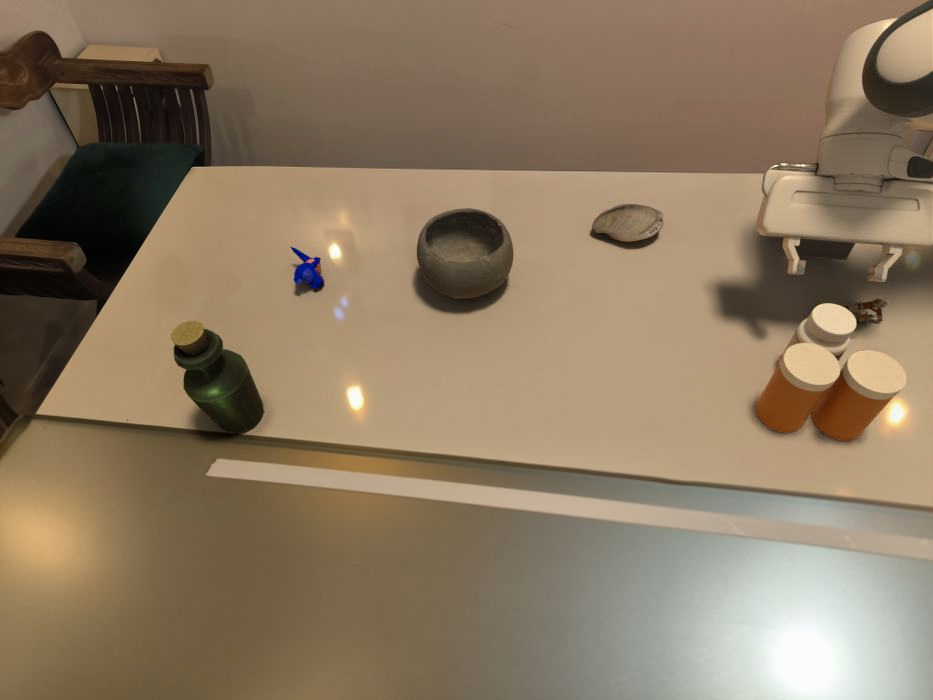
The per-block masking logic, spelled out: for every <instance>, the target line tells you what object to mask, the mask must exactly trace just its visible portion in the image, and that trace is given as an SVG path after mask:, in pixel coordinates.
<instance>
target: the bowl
mask: <svg viewBox="0 0 933 700" xmlns="http://www.w3.org/2000/svg"><path fill="white" fill-rule="evenodd" d="M416 260H417V263H418V267H419V269H420V271H421V273H422V275H423V278H424V279H425V280H426V282H427V283H428V284H429V285H430V286H431V287H432V288H434V289H435V290H436V291H438V292H439V293H442V294H443V295H445V296H446V297H450V298H454V299H473V298H474V299H475V298H477V297H481V296H484V295H487V294H489V293H491V292H492V291H494V290H496V289H497V288H498V287H500V286H501V285H502V284H503V283H504V282H505V281H506V279H507V278H508V276H509V274H510V272H511V270H512V266H513V263H514V244H513V240H512V238H511V234H510V232H509V230H508V229H507V227H506V226H505V223H503V221H501V220H500V219H499V218H498V217H497V216H495V215H493V214H492V213H490V212H487V211H485V210H481V209H478V208H471V207H464V208H456V209H451V210H447V211H444V212H441V213H438V214H436V215H434V216H433V217H431V218H430V219H429V220H428V221H427V222H426V223H425V224H424V226H423V227H422V228H421V231H420V233H419V235H418V239H417V244H416Z"/></svg>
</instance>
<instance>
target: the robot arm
mask: <svg viewBox="0 0 933 700" xmlns="http://www.w3.org/2000/svg"><path fill="white" fill-rule="evenodd" d="M824 111H825V123H824V124H825V125H824V128H823V130H822V132H821V134H820V136H819V139H818V144H817V150H816V157H815V162H791V161H779V162H778V163H777V164H774V165H771V166H770V167H768V168H767V169H766V170H765V172H764V174H763V175H762V183H761V192H762V194H763V197H762V200H761V203H760V206H759V210H758V214H757V217H756V222H755V229H756V231H757V232H758V234H759V235H760V236H763V237H764V236H765V237H778V238H782V245H781V247H782V248H783V251H784V253H786V254H785V255H786V258H787V260H788V265H787V274H788V275H800V276H802V275H804V274H805V271H806V269H805V267H806V265H807V264H806V263H807V260H803V259H800V256H798V254H797V252H796V249H795V247H794V246H799V244H800V239H813V240H826V241H838V242H850V243H856V244H862V245H863V244H864V245H877V246H882V247H881V253H880V254H881V255H885V256H884V257H883V258H882V259H881V261H880V262H879V263H878V264H877V265H876V266H869V267H868V270H867V272H868V275H867V276H866V277H867V278H866V281H868V282H875V283H885V282H886V280H887V278H888V273H889V269H890V268H891V267H892V266H893V265H894V264H895V263H896V261H898V259H899V258H900V257H901V256H902V254H903V248H912V249H922V248H923V249H924V248H929V247H932V246H933V158H930V157H927V156H925V155H921V154H919V153H918V152H915V151H912V150H909V149H908V148H906V147H903V144H904V138H905V136H906V134H907V133H908V132H910V131H921V132H933V0H927V1H925V2H924V3H921V4H919V5H918V6H916V7H914V8H913V9H911V10H909V11H907V12H906V13H904V14H902V15H901V16H900V17H891V18H884V19H879V20H876V21H873V22H870V23H867V24H866V25H865V24H864V25H863V26H862V27H860V28H857V29H856V30H855V31H853V32H852V33H851V34H849V35H848V36H847V38H846V39H844V41H843V42H842V45H841V47H840V48H839V50H838V52H837V55H836V57H835V60H834V64H833V66H832V70H831V73H830V78H829V83H828V87H827V92H826V98H825V104H824ZM783 237H784V239H783Z"/></svg>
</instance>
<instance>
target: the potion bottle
mask: <svg viewBox="0 0 933 700" xmlns="http://www.w3.org/2000/svg"><path fill="white" fill-rule="evenodd" d="M204 327H205V326H204V325H203V324H202V322H201V321H199V320H192V319H191V320H186V321H183V322H181V323H179V324H177V326H175V327H174V328H173V330H172V331H171V333H170V341H171V342H172V343H173V344H174V346H173V360H174V362H175V363H176V365H177V367H180V368H181V369H183V370H185V371H184V373H183V384H182V385H183V390H184V392H185V393H186V395H187V396H188V398H189V399H190V400H191V401H193V403H194V404H195V405H196V406H198V408H199V409H200V410H201V411H202V412H203V413H204V414H205V415H206V416H207V417H208V418H209V419H210V420H211V421H212V422H213V423H214V424H215V425H216V426H217V427H218V428H219V429H220V430H221V431H223V432H225V433H228V434H241V433H244V432H247V431H249V430H251V429H252V428H254V427H255V426H256V425H257V424H258V423H259V421H260V420H261V419H262V417H263V414H264V411H265V409H264V402H263V400H262V398H261V395H260V392H259V390H258V387H257V385H256V383H255V380H254V378H253V375H252V374H251V373H252V372H251V371H250V369H249V366H248V363H247V361H246V360H245V359H244V357H243V356H242V355H241V354H240V353H238V352H235V351H233V350H230V349H226V348H224V341H223V339H222V338H221V336H220V335H219V334H217V333H216V332H214V331H212V330H211V329H208V328H204Z"/></svg>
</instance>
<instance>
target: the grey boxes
mask: <svg viewBox="0 0 933 700" xmlns="http://www.w3.org/2000/svg"><path fill="white" fill-rule="evenodd" d="M783 239H784V237H782V240H783ZM856 244H857V243H850V242H838V241H826V240H813V239H800V244H799V246H794V247H795V249H796V252H797V254H798V257H805V258H817V259H829V260H839V261H847V259H848V258H849V255H851V254H850V253H851V252H852V251H853V249H854V247H855V245H856ZM784 253H785V252H784ZM785 255H786V253H785Z"/></svg>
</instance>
